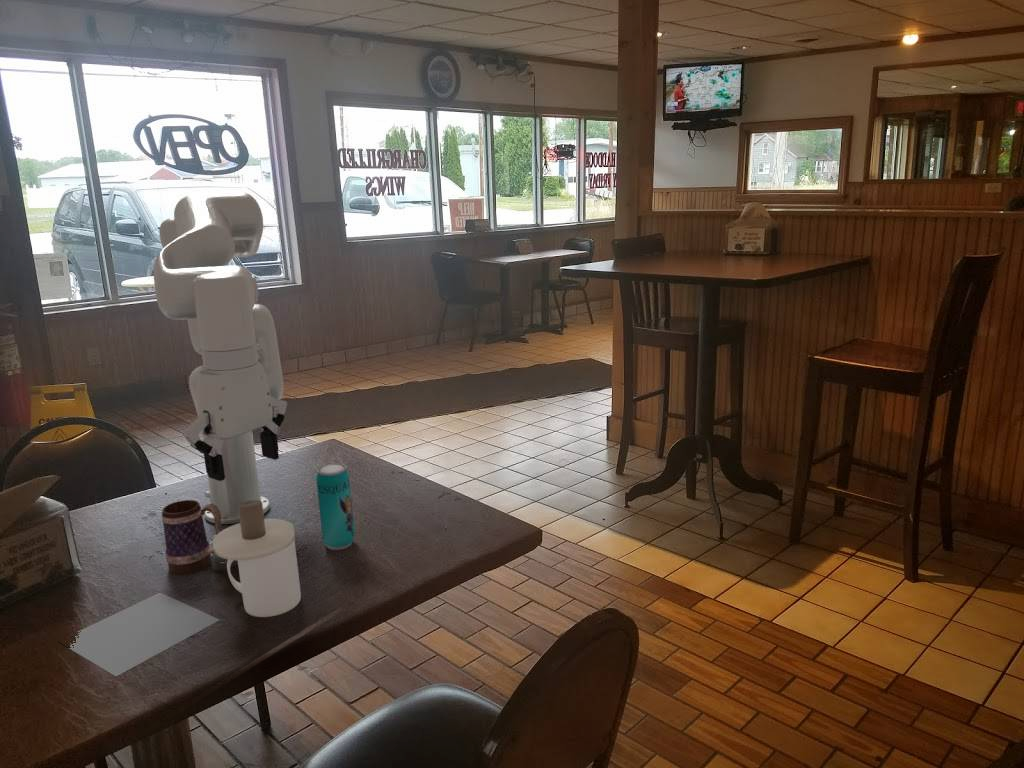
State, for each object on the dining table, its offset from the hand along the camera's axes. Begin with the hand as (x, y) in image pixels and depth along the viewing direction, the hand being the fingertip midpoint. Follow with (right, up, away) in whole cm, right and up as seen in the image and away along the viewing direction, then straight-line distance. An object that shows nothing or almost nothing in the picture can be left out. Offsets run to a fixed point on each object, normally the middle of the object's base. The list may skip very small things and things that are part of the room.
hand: (244, 467), depth 113 cm
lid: (+1, -12, +2) cm, 12 cm away
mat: (-15, -24, -2) cm, 29 cm away
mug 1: (-14, -20, +18) cm, 30 cm away
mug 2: (+1, -22, +5) cm, 23 cm away
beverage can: (+9, -17, +25) cm, 31 cm away
